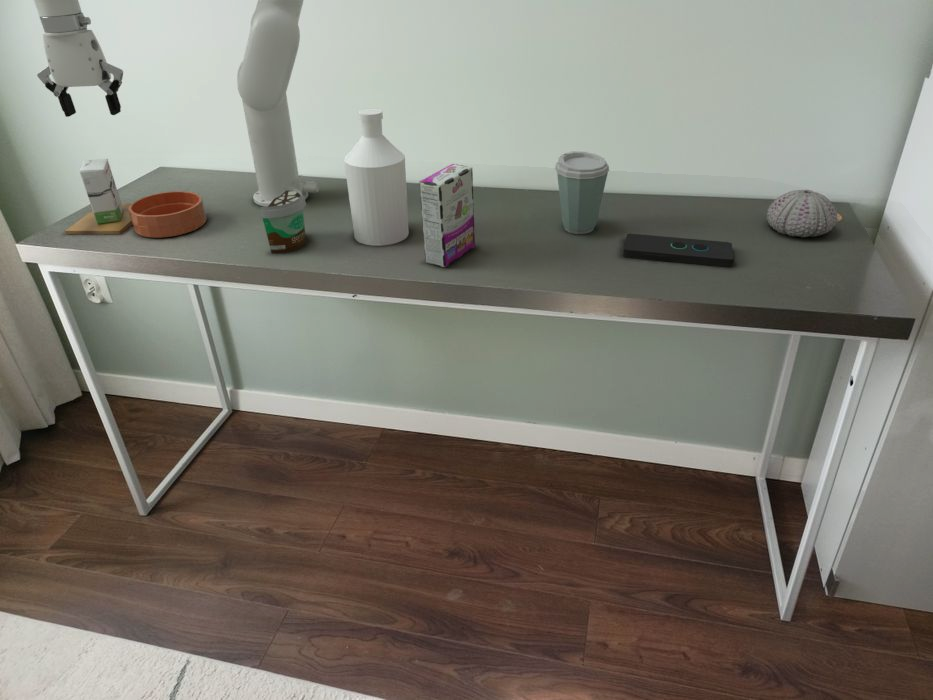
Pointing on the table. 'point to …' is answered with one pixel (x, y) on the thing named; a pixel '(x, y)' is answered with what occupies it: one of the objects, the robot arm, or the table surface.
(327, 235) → the table surface
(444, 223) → the candy bar box
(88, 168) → the ink box
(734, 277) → the table surface
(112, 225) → the wooden board
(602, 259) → the table surface
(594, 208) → the disposable coffee cup
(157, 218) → the bowl
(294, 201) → the food container
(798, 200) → the sea urchin shell
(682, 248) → the smart home device
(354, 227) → the bottle
